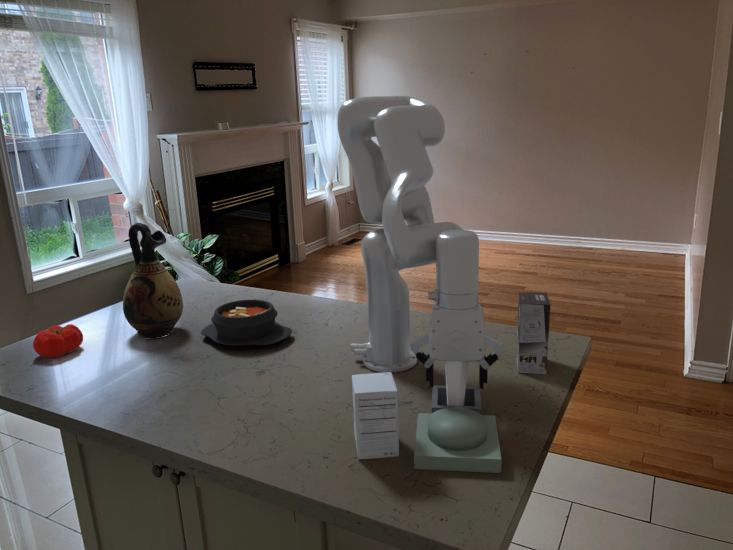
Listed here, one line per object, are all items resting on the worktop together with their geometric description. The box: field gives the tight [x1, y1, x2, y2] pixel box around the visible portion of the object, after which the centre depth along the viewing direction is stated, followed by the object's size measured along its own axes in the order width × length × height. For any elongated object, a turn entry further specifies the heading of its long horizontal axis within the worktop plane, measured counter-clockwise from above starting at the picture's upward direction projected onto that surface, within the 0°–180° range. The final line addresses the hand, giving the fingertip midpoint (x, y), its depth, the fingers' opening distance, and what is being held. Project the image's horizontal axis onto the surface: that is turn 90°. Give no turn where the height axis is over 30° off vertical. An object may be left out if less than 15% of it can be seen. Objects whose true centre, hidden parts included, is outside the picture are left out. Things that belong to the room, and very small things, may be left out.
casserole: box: [200, 299, 293, 347], centre depth 156 cm, size 25×19×8 cm
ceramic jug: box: [122, 222, 184, 339], centre depth 160 cm, size 17×15×30 cm
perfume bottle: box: [444, 361, 469, 406], centre depth 113 cm, size 5×4×15 cm
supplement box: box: [351, 372, 400, 460], centre depth 103 cm, size 7×7×13 cm
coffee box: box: [515, 291, 552, 375], centre depth 133 cm, size 9×6×16 cm
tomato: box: [32, 323, 84, 359], centre depth 151 cm, size 10×11×6 cm
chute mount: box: [413, 384, 502, 474], centre depth 107 cm, size 14×22×5 cm, turn 172°
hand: (456, 385), depth 113 cm, fingers open, 9 cm apart
